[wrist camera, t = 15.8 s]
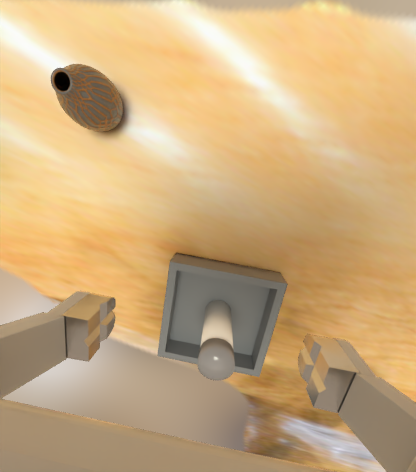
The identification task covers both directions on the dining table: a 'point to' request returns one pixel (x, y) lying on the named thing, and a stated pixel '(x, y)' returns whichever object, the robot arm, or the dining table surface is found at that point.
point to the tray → (225, 289)
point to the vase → (88, 97)
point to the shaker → (217, 342)
